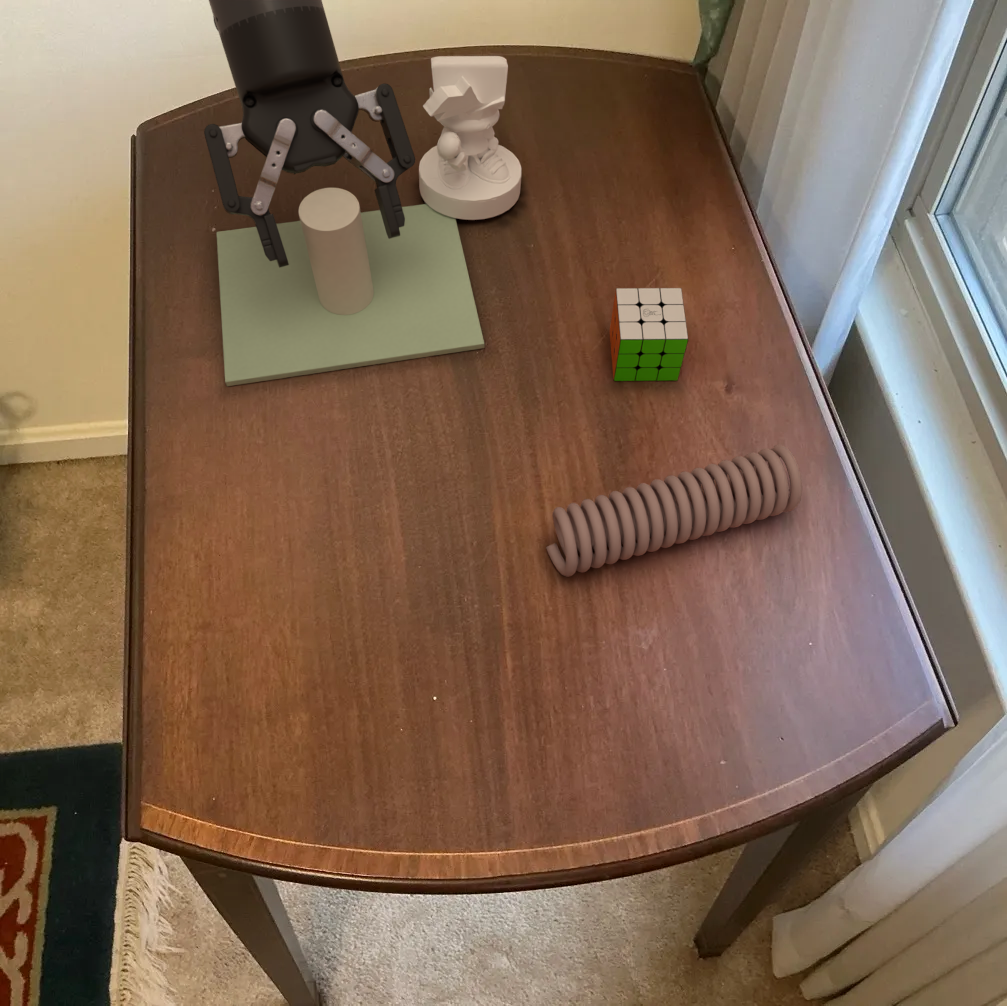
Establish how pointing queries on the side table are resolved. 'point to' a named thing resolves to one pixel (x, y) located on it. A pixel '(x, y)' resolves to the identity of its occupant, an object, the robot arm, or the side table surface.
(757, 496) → the coil
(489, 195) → the character figurine
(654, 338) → the rubik's cube
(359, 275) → the cylinder
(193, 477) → the side table surface
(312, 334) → the mat
